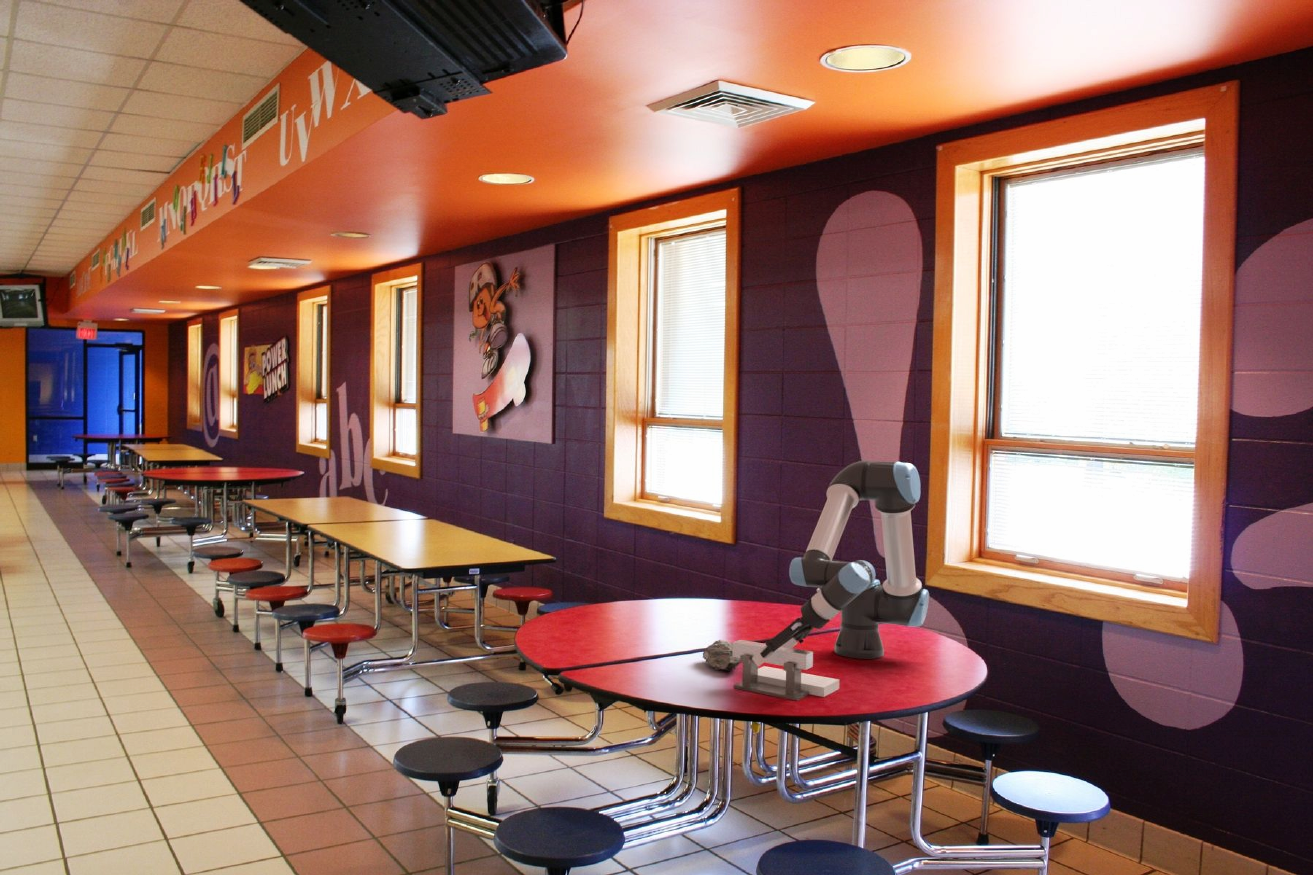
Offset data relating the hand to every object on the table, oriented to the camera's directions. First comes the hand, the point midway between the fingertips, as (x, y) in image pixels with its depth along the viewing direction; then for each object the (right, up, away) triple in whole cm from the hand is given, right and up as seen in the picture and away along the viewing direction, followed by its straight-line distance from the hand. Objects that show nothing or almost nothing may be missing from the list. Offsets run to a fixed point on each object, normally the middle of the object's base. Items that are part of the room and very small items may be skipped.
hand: (767, 657), depth 259 cm
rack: (+1, -9, -1) cm, 9 cm away
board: (+8, -9, +6) cm, 13 cm away
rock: (-9, -9, +23) cm, 27 cm away
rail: (+1, -1, -1) cm, 2 cm away
